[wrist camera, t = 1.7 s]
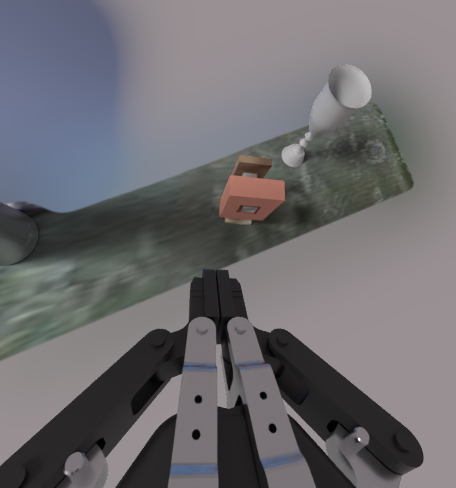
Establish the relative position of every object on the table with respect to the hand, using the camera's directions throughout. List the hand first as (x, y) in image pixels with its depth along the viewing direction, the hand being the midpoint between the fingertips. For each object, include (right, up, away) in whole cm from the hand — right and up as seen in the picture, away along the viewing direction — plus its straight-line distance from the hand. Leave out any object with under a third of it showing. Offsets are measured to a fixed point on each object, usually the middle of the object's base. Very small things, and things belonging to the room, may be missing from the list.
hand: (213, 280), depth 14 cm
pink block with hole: (+3, +8, +28) cm, 29 cm away
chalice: (+15, +21, +36) cm, 44 cm away
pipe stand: (+3, +10, +31) cm, 33 cm away
